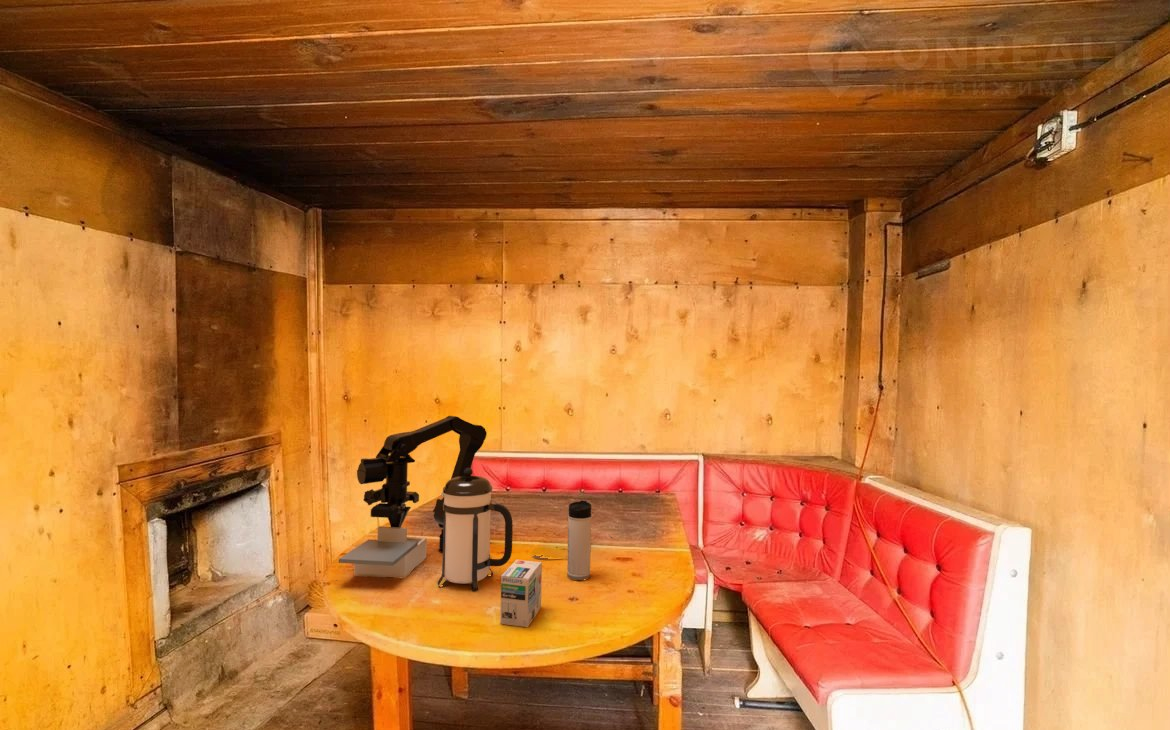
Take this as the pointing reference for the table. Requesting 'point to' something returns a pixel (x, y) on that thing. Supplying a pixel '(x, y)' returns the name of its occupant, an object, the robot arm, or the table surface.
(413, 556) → the grey parts tub
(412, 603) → the table surface
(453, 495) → the coffee press
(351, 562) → the slate lid
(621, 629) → the table surface
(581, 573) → the travel mug
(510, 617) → the light bulb box
